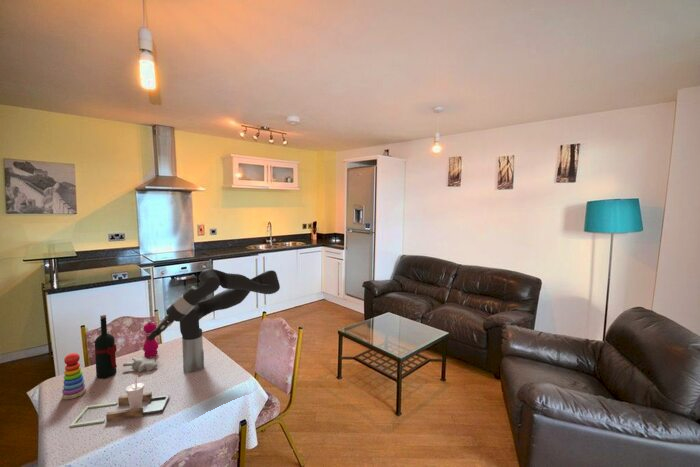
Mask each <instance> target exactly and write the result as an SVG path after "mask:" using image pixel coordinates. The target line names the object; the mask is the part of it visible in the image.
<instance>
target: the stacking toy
mask: <svg viewBox="0 0 700 467" xmlns="http://www.w3.org/2000/svg"><path fill="white" fill-rule="evenodd" d="M79 361H80V354H78V353H76V352H73V353H71V352H70V353H68V354H67V355H66V356H65V357H64V361H63V362H64V364H65V367H64V370H65V371H64V372H63V374H64V376H63V379H64V380H63V386H62V390H61V391H62V392H61V393H62V395H61V397H62V399H64V400H72V399H76V398H78V397H80V396H82V395H84V394H85V393H86V391H87V388H86V385H85V379H84V376H83V371H82V368H81V363H80V362H79Z"/></svg>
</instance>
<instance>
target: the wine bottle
mask: <svg viewBox="0 0 700 467" xmlns="http://www.w3.org/2000/svg"><path fill="white" fill-rule="evenodd" d="M99 318H100V335H99V336H97V337H96V339H95V341H94V355H95V356H94V357H95V372H96V373H95V374H96V377H95V378H96V379H98V380H99V379H100V380H102V379H108V378H111V377H113V376H115V375H117V367H118V366H117V358H116V352H117V345H116V342H115V337H114V336H113V335H112V334H111V333H108V327H107V325H108V324H107V315H106V314H103V315H100V316H99Z"/></svg>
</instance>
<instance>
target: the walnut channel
mask: <svg viewBox="0 0 700 467" xmlns="http://www.w3.org/2000/svg"><path fill="white" fill-rule="evenodd" d="M151 397H153V392H152V391H151V392H143V398H142V403H144V402H150V401H151ZM117 400H118V402H117V404H118V406H121V405H122V406H123V405H129V400H128V396H127V394H126V395H121V396H119V397H118V398H117ZM143 411H144V407H142V408H135V409H130V408H129V409H128V408H127V409H122V410H115V411H108V412H107V413H106V414H105V416H106V418H105V421H106V423H108V422H115V421H122V420H123V421H125V420H130V419H136V418H142V417H143V416H144V415H143Z"/></svg>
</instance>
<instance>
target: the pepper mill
mask: <svg viewBox="0 0 700 467" xmlns="http://www.w3.org/2000/svg"><path fill="white" fill-rule="evenodd" d="M156 328H157V324H156V323H155V322H152V320H151V319H149V320H148V321H147V323H145V324H144V325H143V331H144V336H145V341H144V344H143V346H142V350H143V352H144V354H143V355H144V356H143V357H146V358H147V359H149V358H153V357H155V356H157V355H158V353H159V352H158V349H159V343H158V341H157V340H156V337H155V338H154V339H153V340H152V341H149V340H148V339H147V338H148V336H150V334H151V333H152V332H153V331H154V330H155V329H156Z"/></svg>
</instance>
